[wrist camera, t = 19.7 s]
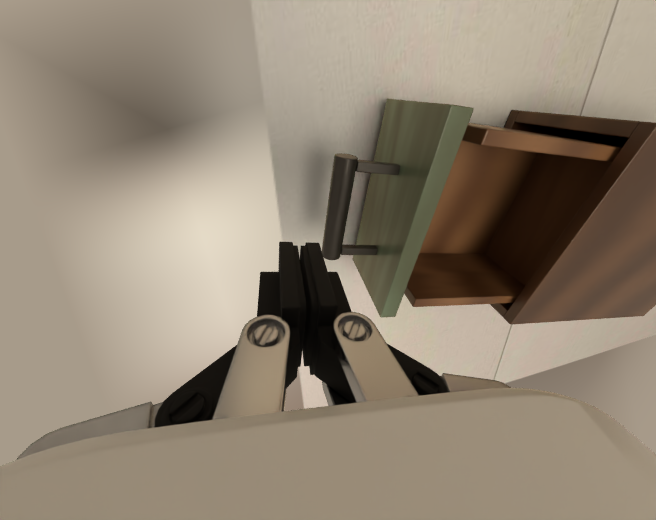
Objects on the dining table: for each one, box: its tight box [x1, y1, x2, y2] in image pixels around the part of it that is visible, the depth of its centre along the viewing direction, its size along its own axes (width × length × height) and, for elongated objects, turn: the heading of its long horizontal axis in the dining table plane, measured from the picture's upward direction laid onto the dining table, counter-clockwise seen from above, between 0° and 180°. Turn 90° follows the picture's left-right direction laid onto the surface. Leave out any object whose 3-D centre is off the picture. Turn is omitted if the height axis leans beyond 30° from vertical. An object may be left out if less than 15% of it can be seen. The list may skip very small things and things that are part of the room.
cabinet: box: [490, 110, 656, 324], centre depth 22 cm, size 16×15×10 cm
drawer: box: [322, 99, 623, 317], centre depth 19 cm, size 19×13×8 cm
